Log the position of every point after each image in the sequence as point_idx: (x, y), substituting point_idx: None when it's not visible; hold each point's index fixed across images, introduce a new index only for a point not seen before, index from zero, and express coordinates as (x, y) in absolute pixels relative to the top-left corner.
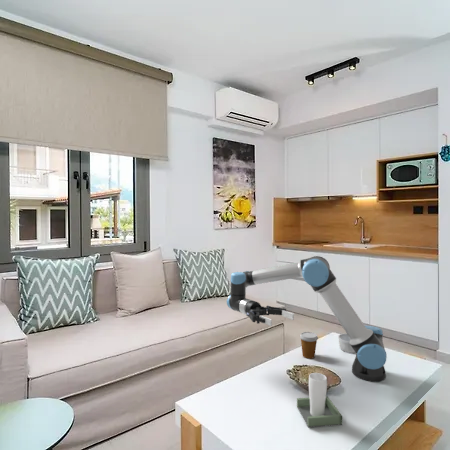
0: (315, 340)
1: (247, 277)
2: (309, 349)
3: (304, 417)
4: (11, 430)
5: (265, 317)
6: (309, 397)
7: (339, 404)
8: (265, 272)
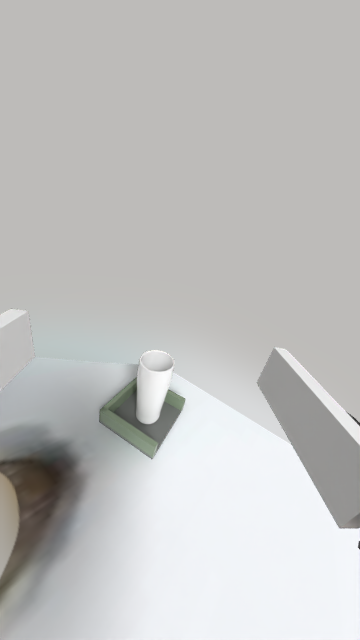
0: None
1: None
2: None
3: (171, 423)
4: None
5: (325, 398)
6: (162, 401)
7: (83, 408)
8: None
